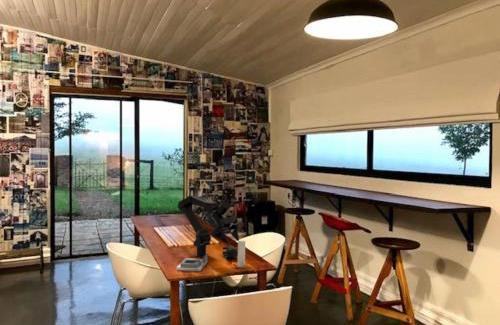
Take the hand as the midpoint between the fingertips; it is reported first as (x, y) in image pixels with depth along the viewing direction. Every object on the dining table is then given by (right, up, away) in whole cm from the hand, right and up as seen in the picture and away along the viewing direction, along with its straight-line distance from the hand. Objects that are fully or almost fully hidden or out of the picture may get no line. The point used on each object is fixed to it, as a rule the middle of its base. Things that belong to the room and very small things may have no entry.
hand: (233, 241), depth 231 cm
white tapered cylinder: (+5, -13, -4) cm, 14 cm away
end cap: (-2, -13, +14) cm, 19 cm away
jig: (-22, -12, -5) cm, 26 cm away
